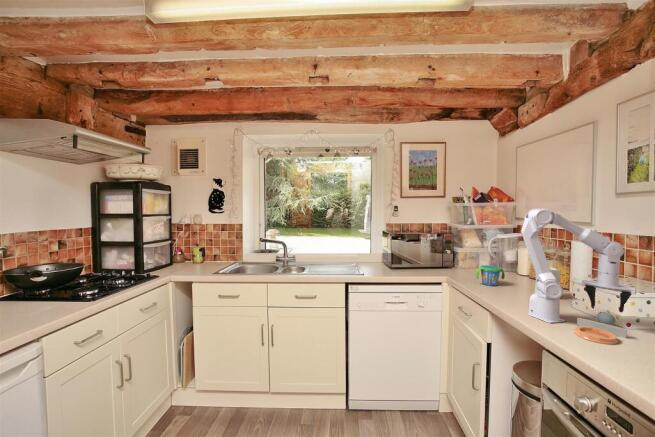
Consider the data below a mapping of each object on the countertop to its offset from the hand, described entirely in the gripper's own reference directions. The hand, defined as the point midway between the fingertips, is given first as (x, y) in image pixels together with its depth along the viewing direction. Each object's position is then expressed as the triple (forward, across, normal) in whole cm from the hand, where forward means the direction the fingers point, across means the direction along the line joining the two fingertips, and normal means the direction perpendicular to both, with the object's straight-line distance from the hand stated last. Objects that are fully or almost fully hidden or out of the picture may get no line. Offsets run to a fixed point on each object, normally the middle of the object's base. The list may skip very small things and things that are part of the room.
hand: (606, 308), depth 109 cm
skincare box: (+7, +25, -24) cm, 36 cm away
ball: (+4, 0, 0) cm, 4 cm away
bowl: (+6, 0, +16) cm, 17 cm away
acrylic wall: (+6, 0, +8) cm, 10 cm away
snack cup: (+7, +53, -26) cm, 59 cm away
